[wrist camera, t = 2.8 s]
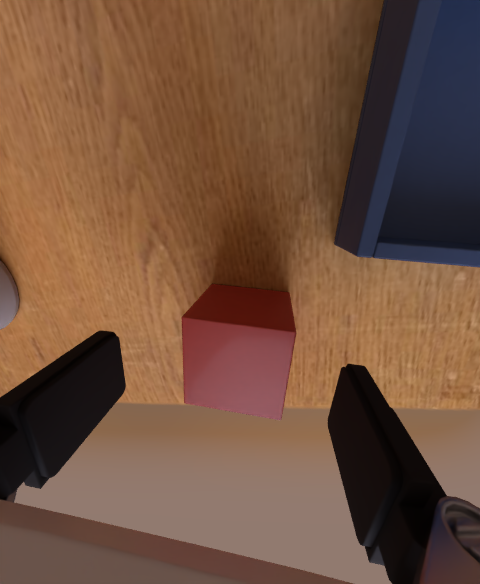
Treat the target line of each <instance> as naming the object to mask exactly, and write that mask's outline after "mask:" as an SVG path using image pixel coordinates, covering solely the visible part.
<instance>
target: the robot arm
mask: <svg viewBox="0 0 480 584" xmlns="http://www.w3.org/2000/svg"><path fill="white" fill-rule="evenodd" d="M125 387H126V384H125V377H124V370H123V362H122V355H121V348H120V341H119V337H118V336H116V334H115V333H114V332H109V331H98V332H96V333H95V334H93V335H92V336H90V337H89V338H87V339H86V340H85V341H83V342H82V343H80V344H79V345H77V346H76V347H74V348H73V349H71V350H70V351H68V352H67V353H65V354H64V355H62V356H61V357H59V358H58V359H56V360H55V361H54V362H52V363H51V364H49V365H48V366H46V367H45V368H43V369H42V370H40V371H39V372H37V373H36V374H34V375H33V376H31V377H30V378H28V379H27V380H26V381H24V382H23V383H21V384H20V385H18V386H17V387H15V388H14V389H12V390H11V391H9V392H8V393H6V394H5V395H3V396H2V397H0V584H353V583H349V582H345V581H341V580H337V579H334V578H330V577H326V576H322V575H319V574H314V573H311V572H307V571H303V570H300V569H295V568H291V567H287V566H283V565H278V564H275V563H270V562H266V561H262V560H258V559H254V558H250V557H245V556H241V555H237V554H233V553H229V552H225V551H221V550H216V549H212V548H208V547H204V546H200V545H196V544H191V543H187V542H182V541H178V540H174V539H170V538H166V537H161V536H157V535H153V534H149V533H144V532H140V531H136V530H132V529H127V528H123V527H118V526H114V525H110V524H106V523H101V522H97V521H93V520H88V519H84V518H80V517H75V516H71V515H67V514H62V513H57V512H53V511H49V510H45V509H40V508H36V507H31V506H27V505H22V504H18V503H14V500H15V496H16V492H17V488H18V487H19V486H20V485H21V484H22V483H23V482H24V483H25V485H27V486H30V487H35V488H40V489H41V488H42V486H43V485H44V484H45V483H46V481H47V480H48V479H49V478H51V477H53V476H55V475H56V474H57V473H58V472H59V471H60V469H61V468H62V467H63V466H64V464H65V463H66V462H67V461H68V460H69V458H70V457H71V456H72V455H73V454H74V452H75V451H76V450H77V449H78V447H79V446H80V445H81V444H82V443H83V442H84V440H85V439H86V438H87V437H88V435H89V434H90V433H91V432H92V431H93V429H94V428H95V427H96V426H97V425H98V423H99V422H100V421H101V420H102V418H103V417H104V416H105V415H106V414H107V412H108V411H109V410H110V409H111V408H112V406H113V405H114V404H115V403H116V402H117V400H118V399H119V398H120V397H121V396H122V394H123V393H124V391H125ZM328 429H329V433H330V436H331V440H332V444H333V448H334V452H335V455H336V459H337V463H338V467H339V471H340V474H341V479H342V482H343V486H344V490H345V494H346V498H347V501H348V505H349V509H350V513H351V517H352V521H353V524H354V528H355V532H356V536H357V539H358V541H359V543H360V545H362V546H365V549H366V552H367V556H368V560H369V562H371V563H375V564H380V565H384V566H385V568H386V571H387V575H388V578H389V580H390V581H391V583H392V584H480V508H478V507H476V506H475V505H473V504H471V503H470V502H468V501H465V500H463V499H460V498H457V497H450V496H447V495H446V494H445V492H444V491H443V489H442V487H441V486H440V484H439V482H438V481H437V479H436V478H435V476H434V474H433V473H432V471H431V470H430V468H429V466H428V465H427V463H426V461H425V460H424V458H423V457H422V455H421V453H420V452H419V450H418V448H417V447H416V445H415V444H414V442H413V440H412V439H411V437H410V435H409V434H408V432H407V431H406V429H405V427H404V426H403V424H402V422H401V421H400V419H399V418H398V416H397V414H396V413H395V412H394V410H393V409H392V408H391V407H390V406H389V405H388V403H387V402H386V400H385V398H384V397H383V395H382V393H381V392H380V390H379V388H378V387H377V385H376V383H375V382H374V380H373V378H372V377H371V375H370V374H369V372H368V370H367V369H366V367H365V366H361V365H354V364H347V366H346V367H342V368H341V371H340V375H339V379H338V383H337V386H336V390H335V394H334V398H333V401H332V405H331V409H330V413H329V416H328Z"/></svg>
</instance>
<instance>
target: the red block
mask: <svg viewBox="0 0 480 584" xmlns="http://www.w3.org/2000/svg"><path fill="white" fill-rule="evenodd" d="M295 337H296V328H295V322H294V316H293V311H292V305H291V299H290V293H289V292H282V291H273V290H264V289H255V288H246V287H237V286H228V285H218V284H211V285H210V286H209V288H208V289H207V290H206V291H205V292H204V293H203V294H202V295H201V296H200V298H199V299H198V300H197V301H196V302H195V303H194V304H193V305H192V306H191V308H190V309H189V310H188V311H187V312H186V313H185V314H184V315H183V316H182V341H183V375H184V403H186V404H192V405H197V406H203V407H209V408H214V409H220V410H225V411H231V412H237V413H242V414H248V415H254V416H259V417H265V418H270V419H276V420H281V418H282V412H283V407H284V401H285V395H286V389H287V383H288V378H289V372H290V366H291V360H292V354H293V349H294V343H295Z"/></svg>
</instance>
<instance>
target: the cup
mask: <svg viewBox="0 0 480 584" xmlns="http://www.w3.org/2000/svg"><path fill="white" fill-rule="evenodd" d="M18 307H19V296H18V291H17V287H16V285H15V282H14V280H13V278H12V276H11V274H10V272H9V271H8V269H7V268H6V266H5V265H4V264H3V263H2V262H1V260H0V329H2V328H4V327H6V326H7V325H8V324H9V323H10V322H11V321H12V320H13V319H14V317H15V315H16V313H17V311H18Z"/></svg>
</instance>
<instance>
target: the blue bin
mask: <svg viewBox="0 0 480 584" xmlns="http://www.w3.org/2000/svg"><path fill="white" fill-rule="evenodd" d="M334 245H336V246H339V247H340V248H342V249H344V250H346V251H348V252H350V253H352V254H354V255H355V256H357V257H368V258H371V257H373V258H379V259H391V260H402V261H414V262H425V263H437V264H448V265H459V266H471V267H480V0H384V3H383V8H382V13H381V17H380V22H379V27H378V32H377V37H376V42H375V47H374V51H373V56H372V61H371V66H370V71H369V76H368V81H367V85H366V90H365V95H364V100H363V105H362V110H361V115H360V119H359V124H358V129H357V134H356V139H355V144H354V149H353V153H352V158H351V163H350V168H349V173H348V178H347V183H346V187H345V192H344V197H343V202H342V207H341V212H340V216H339V221H338V226H337V231H336V236H335V241H334Z"/></svg>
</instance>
